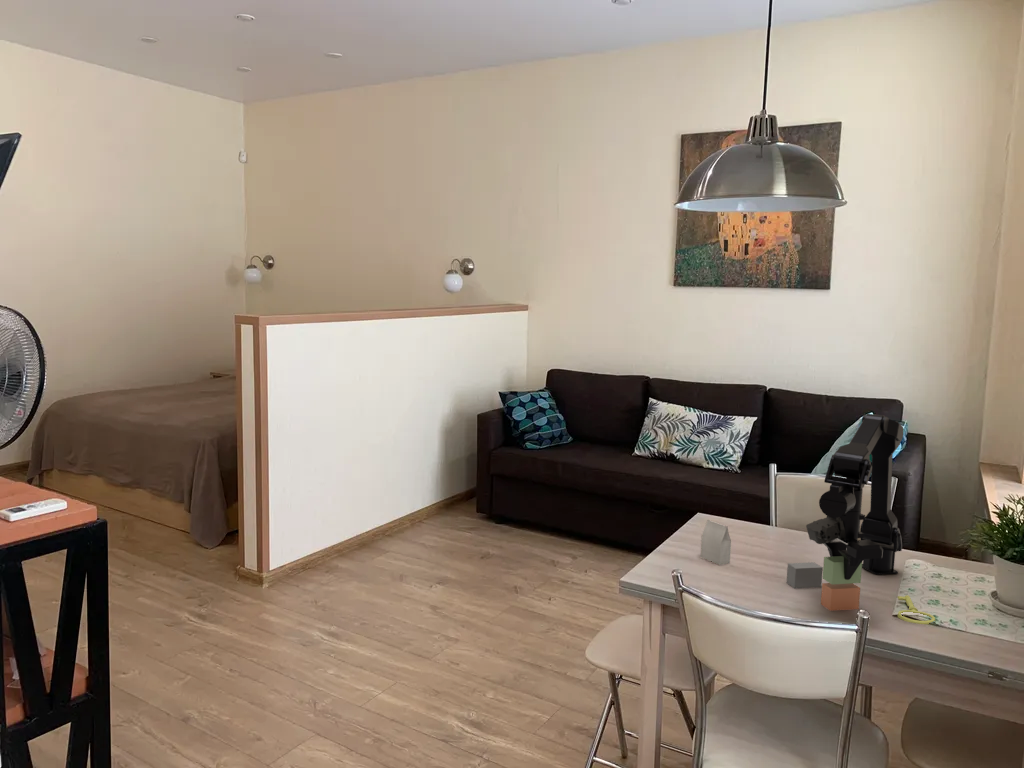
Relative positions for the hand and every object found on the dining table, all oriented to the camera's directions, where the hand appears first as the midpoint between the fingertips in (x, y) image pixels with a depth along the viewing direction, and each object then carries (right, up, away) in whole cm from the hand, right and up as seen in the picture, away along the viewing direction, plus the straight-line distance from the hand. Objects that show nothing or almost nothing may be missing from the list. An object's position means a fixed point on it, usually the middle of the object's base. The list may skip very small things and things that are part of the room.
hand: (841, 576), depth 171 cm
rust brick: (0, -7, +1) cm, 7 cm away
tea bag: (-21, -3, +29) cm, 36 cm away
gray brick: (-3, -6, +13) cm, 15 cm away
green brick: (0, -1, 0) cm, 1 cm away
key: (+15, -8, -2) cm, 17 cm away
